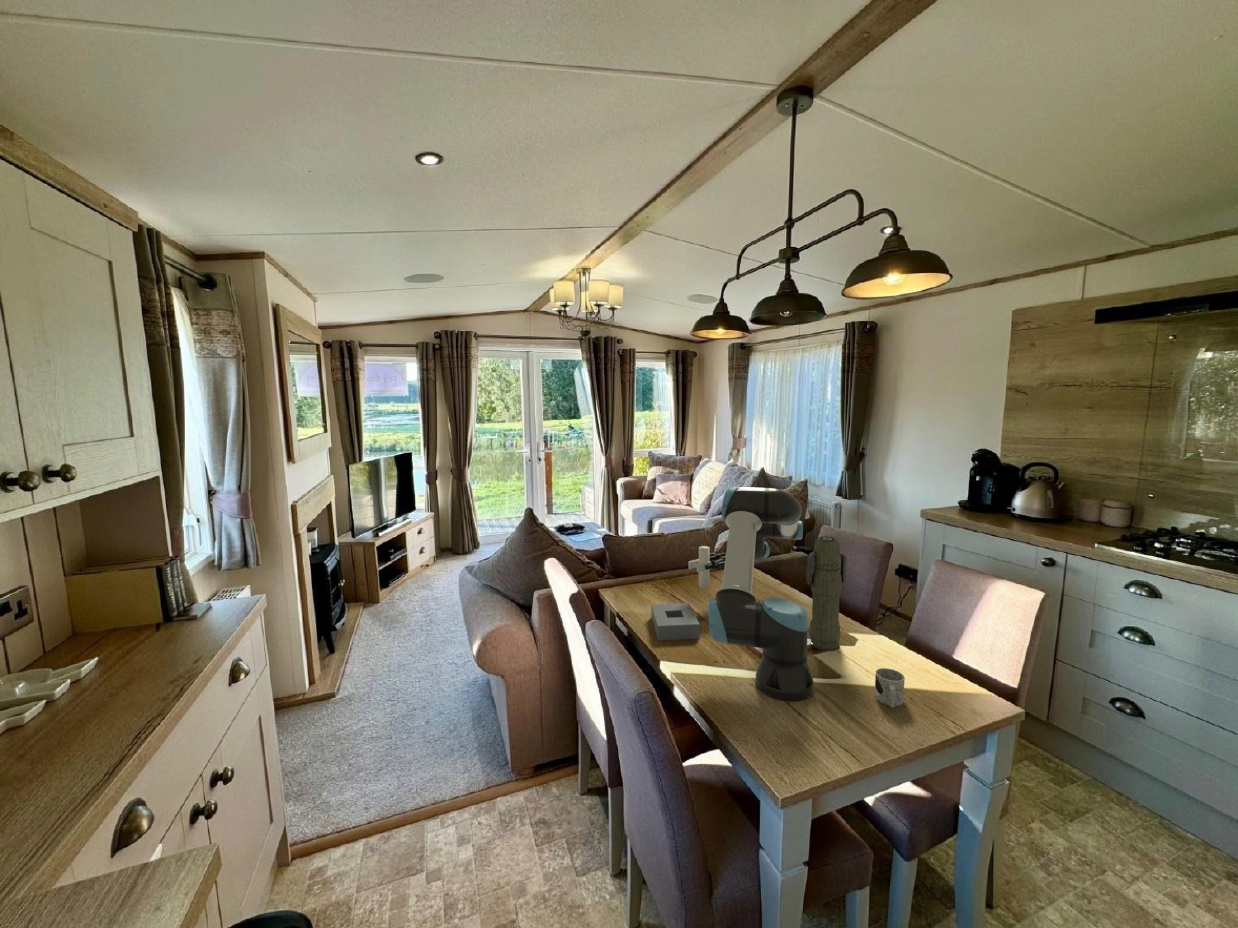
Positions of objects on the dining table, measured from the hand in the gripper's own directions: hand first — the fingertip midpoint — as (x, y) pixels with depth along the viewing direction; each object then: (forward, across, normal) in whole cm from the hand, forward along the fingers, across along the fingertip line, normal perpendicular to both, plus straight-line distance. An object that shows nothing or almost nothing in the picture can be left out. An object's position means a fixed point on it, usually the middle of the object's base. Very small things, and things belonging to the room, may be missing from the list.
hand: (693, 566), depth 186 cm
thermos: (-17, -44, -18) cm, 50 cm away
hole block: (+14, -6, -18) cm, 23 cm away
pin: (-5, 0, -8) cm, 10 cm away
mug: (-3, -72, -18) cm, 75 cm away
